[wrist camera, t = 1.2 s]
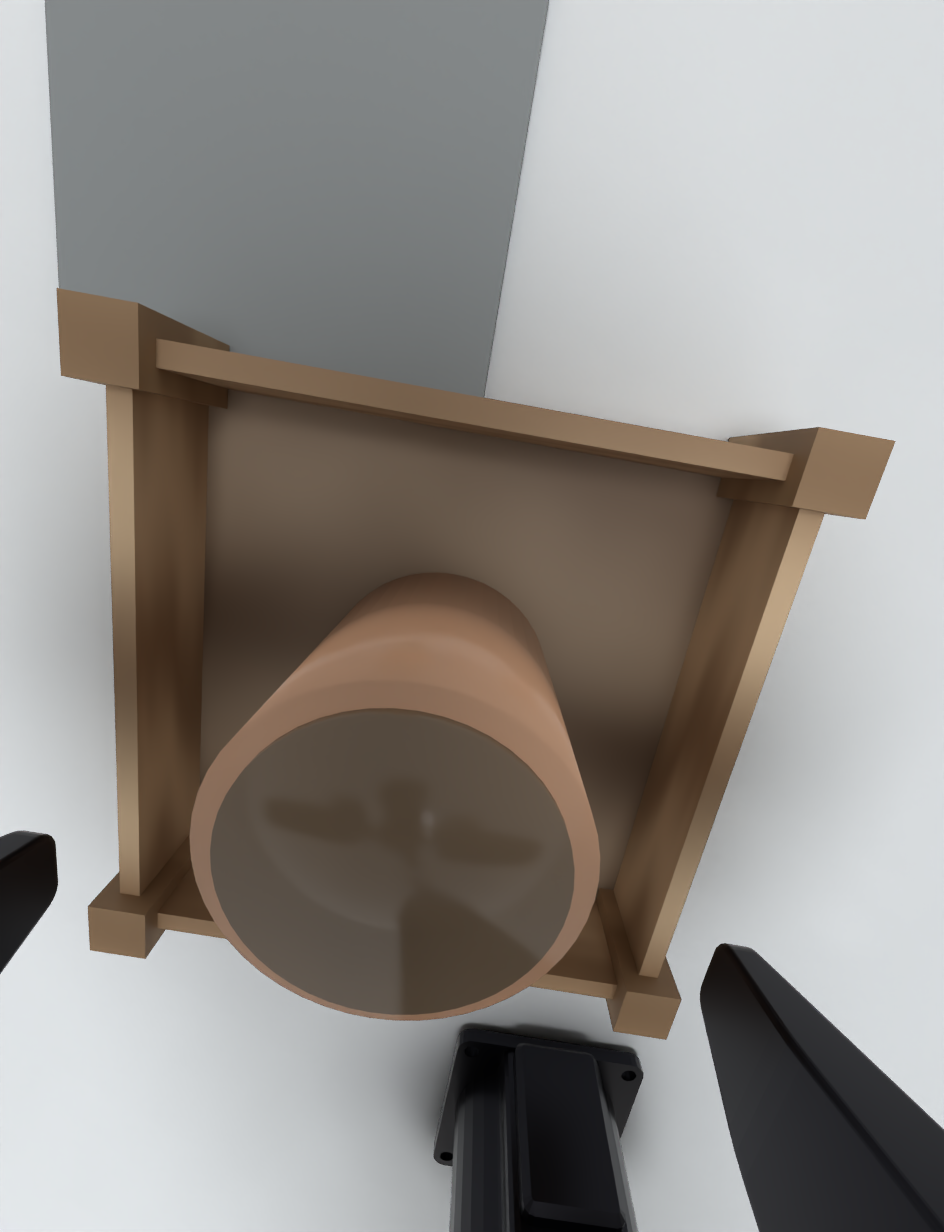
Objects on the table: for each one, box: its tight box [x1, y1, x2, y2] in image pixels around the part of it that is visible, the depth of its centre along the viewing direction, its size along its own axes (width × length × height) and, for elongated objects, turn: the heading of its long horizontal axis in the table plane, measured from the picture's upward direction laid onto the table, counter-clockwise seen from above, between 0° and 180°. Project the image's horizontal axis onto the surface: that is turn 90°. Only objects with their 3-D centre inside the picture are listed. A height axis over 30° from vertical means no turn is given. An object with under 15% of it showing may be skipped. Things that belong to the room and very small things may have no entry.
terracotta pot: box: [190, 573, 600, 1020], centre depth 11 cm, size 6×6×7 cm
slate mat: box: [45, 0, 549, 398], centre depth 11 cm, size 10×10×1 cm
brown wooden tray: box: [57, 288, 895, 1040], centre depth 13 cm, size 15×15×4 cm
